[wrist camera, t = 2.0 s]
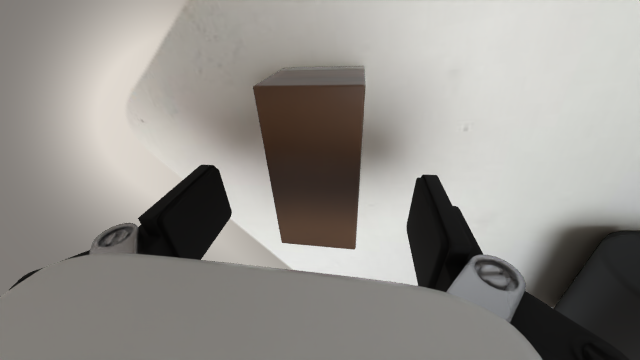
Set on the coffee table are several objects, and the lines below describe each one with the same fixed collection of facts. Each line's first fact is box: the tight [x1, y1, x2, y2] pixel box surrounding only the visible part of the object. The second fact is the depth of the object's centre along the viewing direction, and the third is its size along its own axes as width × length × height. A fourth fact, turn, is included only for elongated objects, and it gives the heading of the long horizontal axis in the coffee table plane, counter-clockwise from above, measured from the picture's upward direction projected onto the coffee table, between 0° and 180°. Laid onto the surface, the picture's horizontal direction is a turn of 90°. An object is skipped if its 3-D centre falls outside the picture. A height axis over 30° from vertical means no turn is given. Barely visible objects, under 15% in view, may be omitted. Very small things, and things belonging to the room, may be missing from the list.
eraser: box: [253, 66, 365, 249], centre depth 13 cm, size 9×4×4 cm, turn 2°
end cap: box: [554, 231, 640, 360], centre depth 15 cm, size 10×7×7 cm
